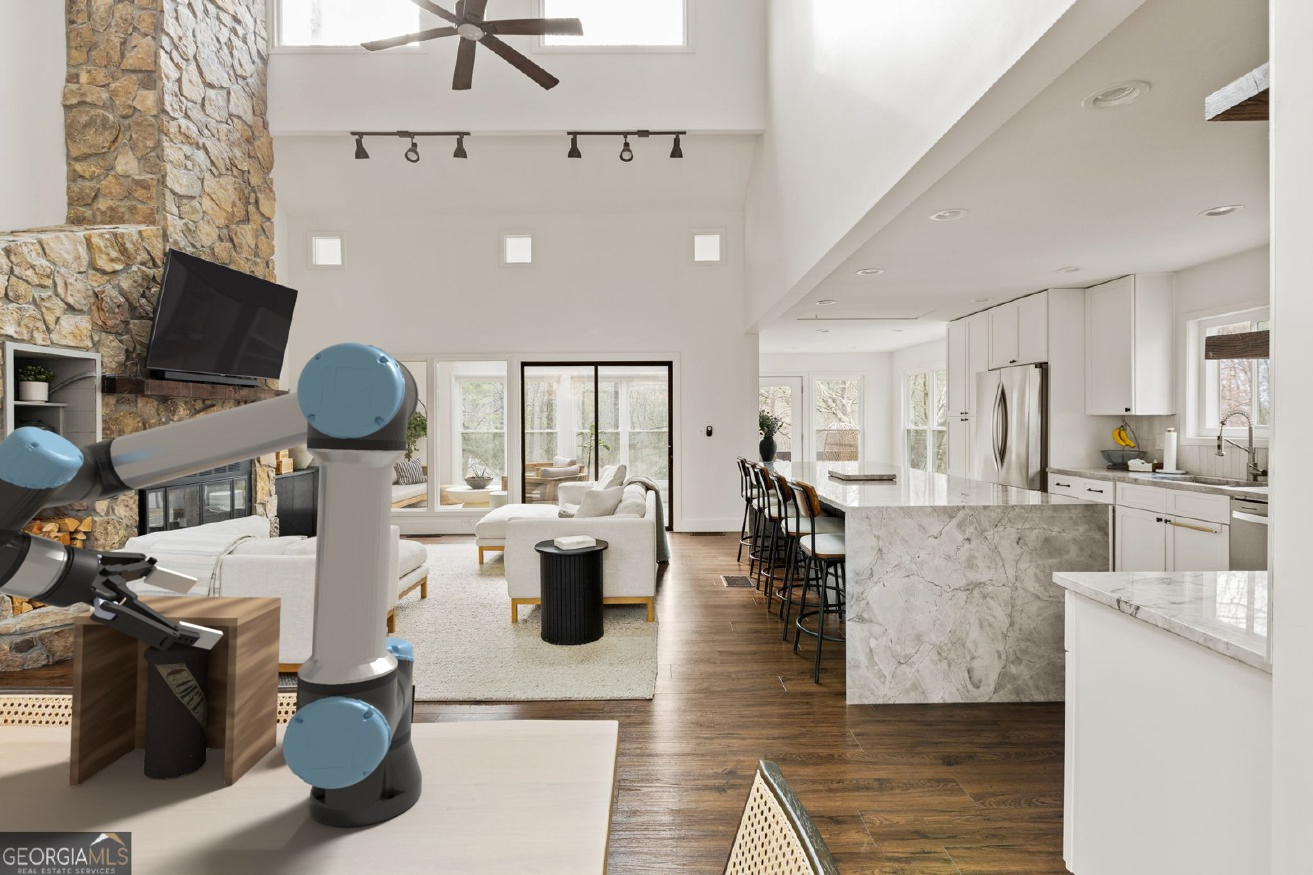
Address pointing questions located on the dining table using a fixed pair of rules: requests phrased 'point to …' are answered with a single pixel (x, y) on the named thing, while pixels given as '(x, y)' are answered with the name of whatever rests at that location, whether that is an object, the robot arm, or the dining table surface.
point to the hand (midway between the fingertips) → (203, 612)
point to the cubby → (235, 683)
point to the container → (176, 711)
